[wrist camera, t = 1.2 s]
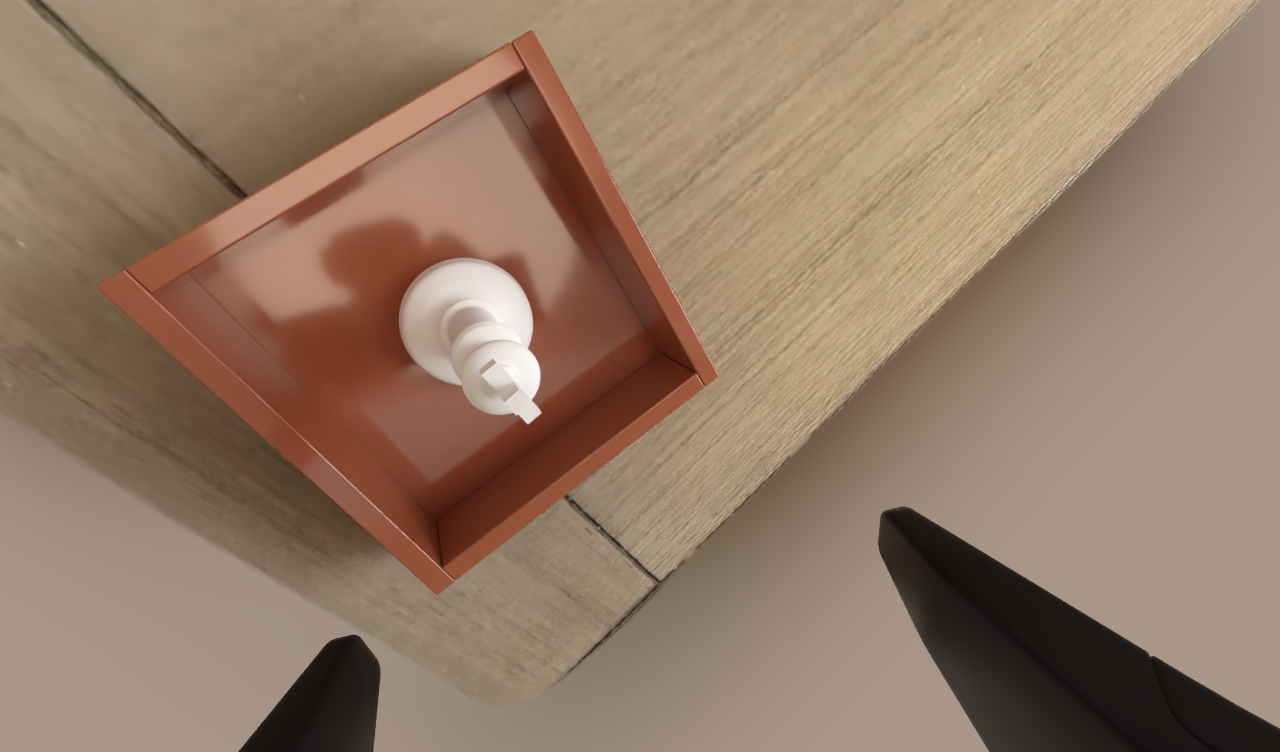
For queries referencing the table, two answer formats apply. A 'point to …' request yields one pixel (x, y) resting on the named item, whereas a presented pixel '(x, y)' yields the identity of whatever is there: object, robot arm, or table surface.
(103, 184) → the table surface
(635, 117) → the table surface
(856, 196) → the table surface
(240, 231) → the open box
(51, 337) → the table surface
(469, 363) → the chess piece
